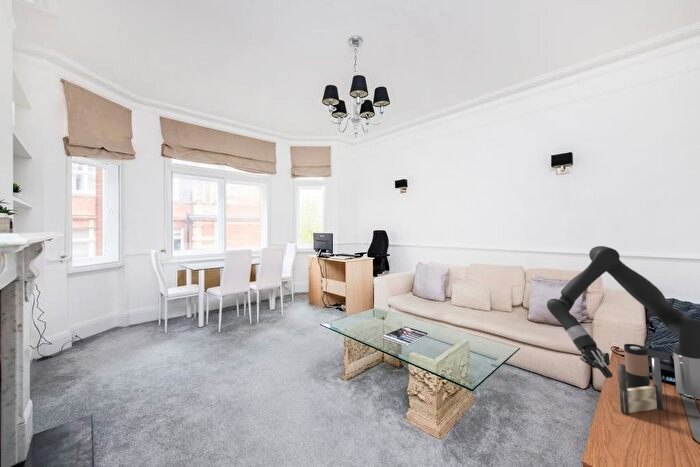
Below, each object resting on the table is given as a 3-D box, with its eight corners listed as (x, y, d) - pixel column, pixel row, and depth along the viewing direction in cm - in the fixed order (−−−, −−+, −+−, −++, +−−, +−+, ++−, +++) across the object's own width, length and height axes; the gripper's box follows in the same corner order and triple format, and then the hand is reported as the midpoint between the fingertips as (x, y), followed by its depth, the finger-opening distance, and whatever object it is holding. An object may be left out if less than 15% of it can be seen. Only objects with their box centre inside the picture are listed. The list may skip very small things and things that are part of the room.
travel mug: (640, 387, 133) (637, 343, 134) (656, 396, 126) (652, 349, 126) (622, 387, 134) (619, 343, 135) (636, 396, 126) (633, 349, 127)
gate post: (658, 406, 119) (654, 356, 119) (665, 409, 116) (661, 359, 117) (653, 407, 118) (649, 357, 119) (660, 410, 116) (656, 359, 116)
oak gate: (651, 406, 118) (647, 360, 119) (658, 409, 116) (654, 362, 116) (619, 410, 116) (615, 364, 117) (625, 414, 114) (621, 366, 114)
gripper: (572, 335, 129) (601, 375, 117) (598, 332, 131) (630, 372, 119) (563, 343, 135) (590, 382, 122) (588, 340, 136) (617, 379, 124)
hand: (609, 377), depth 120 cm, fingers closed
